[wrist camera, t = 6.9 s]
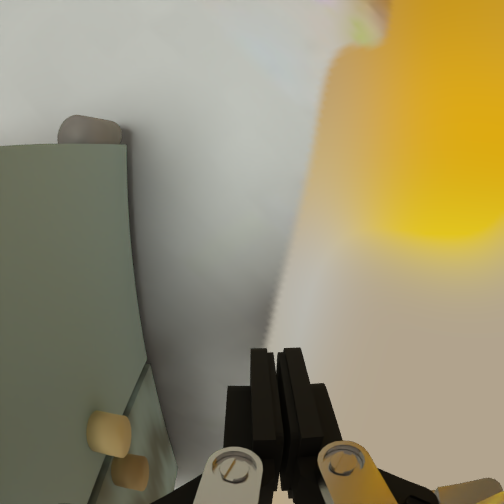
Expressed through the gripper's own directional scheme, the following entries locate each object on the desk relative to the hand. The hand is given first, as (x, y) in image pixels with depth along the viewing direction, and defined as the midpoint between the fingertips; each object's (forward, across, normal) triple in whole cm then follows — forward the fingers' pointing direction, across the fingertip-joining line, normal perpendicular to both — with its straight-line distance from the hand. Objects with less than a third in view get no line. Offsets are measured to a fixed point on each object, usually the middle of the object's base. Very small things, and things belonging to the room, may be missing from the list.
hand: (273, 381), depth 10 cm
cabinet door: (+6, +7, -3) cm, 10 cm away
